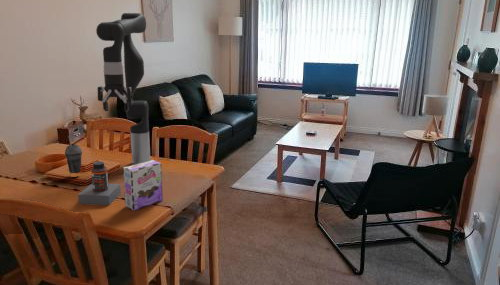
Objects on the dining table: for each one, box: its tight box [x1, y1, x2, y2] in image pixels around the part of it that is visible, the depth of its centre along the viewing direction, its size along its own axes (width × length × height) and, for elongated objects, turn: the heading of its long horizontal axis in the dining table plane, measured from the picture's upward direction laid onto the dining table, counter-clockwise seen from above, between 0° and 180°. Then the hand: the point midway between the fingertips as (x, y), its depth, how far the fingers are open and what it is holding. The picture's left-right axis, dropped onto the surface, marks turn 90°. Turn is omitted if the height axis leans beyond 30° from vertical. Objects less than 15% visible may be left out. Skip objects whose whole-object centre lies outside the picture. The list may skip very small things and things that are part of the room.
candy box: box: [122, 159, 164, 211], centre depth 143 cm, size 14×6×16 cm, turn 139°
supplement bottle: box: [90, 161, 109, 191], centre depth 146 cm, size 6×6×11 cm
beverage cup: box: [64, 135, 83, 173], centre depth 169 cm, size 7×7×20 cm
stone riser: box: [77, 183, 122, 206], centre depth 148 cm, size 12×12×4 cm
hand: (116, 111), depth 156 cm, fingers open, 8 cm apart
